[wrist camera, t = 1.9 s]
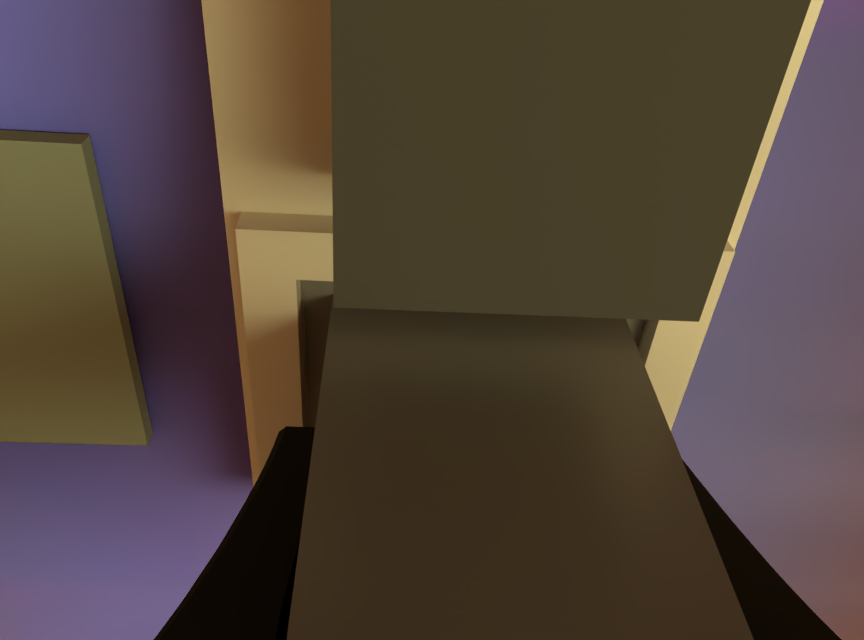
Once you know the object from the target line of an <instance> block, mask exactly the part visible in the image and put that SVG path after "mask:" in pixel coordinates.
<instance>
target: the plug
mask: <svg viewBox="0 0 864 640" xmlns="http://www.w3.org/2000/svg"><path fill="white" fill-rule="evenodd" d="M810 2H811V0H330V6H331V103H332V200H333V297H334V308H359V309H385V310H410V311H436V312H462V313H487V314H513V315H538V316H564V317H590V318H615V319H641V320H667V321H692V322H699V320H700V317H701V315H702V312H703V309H704V306H705V303H706V300H707V297H708V294H709V292H710V289H711V286H712V283H713V280H714V277H715V274H716V272H717V269H718V266H719V263H720V260H721V257H722V254H723V251H724V249H725V246H726V243H727V240H728V237H729V234H730V231H731V229H732V226H733V223H734V220H735V217H736V214H737V211H738V209H739V206H740V203H741V200H742V197H743V194H744V191H745V188H746V186H747V183H748V180H749V177H750V174H751V171H752V168H753V166H754V163H755V160H756V157H757V154H758V151H759V148H760V145H761V143H762V140H763V137H764V134H765V131H766V128H767V125H768V123H769V120H770V117H771V114H772V111H773V108H774V105H775V103H776V100H777V97H778V94H779V91H780V88H781V85H782V82H783V80H784V77H785V74H786V71H787V68H788V65H789V62H790V60H791V57H792V54H793V51H794V48H795V45H796V42H797V39H798V37H799V34H800V31H801V28H802V25H803V22H804V19H805V17H806V14H807V11H808V8H809V5H810Z"/></svg>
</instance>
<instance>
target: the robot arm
mask: <svg viewBox="0 0 864 640" xmlns="http://www.w3.org/2000/svg"><path fill="white" fill-rule="evenodd" d="M314 432H315V427H292V426H286V427H285V428H283V429H282V430H280V431H279V433H278V435H277V438H276V440H275V443H274V446H273V448H272V450H271V452H270V455H269V457H268V459H267V461H266V463H265V465H264V467H263V469H262V471H261V473H260V475H259V477H258V479H257V481H256V483H255V485H254V487H253V489H252V491H251V492H250V494H249V496H248V498H247V500H246V502H245V503H244V505H243V507H242V509H241V510H240V512H239V514H238V515H237V517H236V519H235V520H234V522H233V524H232V525H231V527H230V529H229V531H228V532H227V534H226V536H225V537H224V539H223V541H222V542H221V544H220V546H219V547H218V549H217V550H216V552H215V553H214V555H213V556H212V558H211V559H210V561H209V562H208V564H207V565H206V567H205V568H204V570H203V571H202V573H201V574H200V576H199V577H198V579H197V580H196V582H195V583H194V585H193V586H192V588H191V589H190V591H189V592H188V594H187V595H186V597H185V598H184V599H183V601H182V602H181V604H180V605H179V606H178V608H177V609H176V611H175V612H174V613H173V615H172V616H171V617H170V619H169V620H168V622H167V623H166V624H165V626H164V627H163V628H162V630H161V631H160V632H159V634H158V635H157V636H156V637H155V639H154V640H287V632H288V625H289V617H290V610H291V602H292V595H293V588H294V580H295V573H296V565H297V558H298V551H299V543H300V536H301V528H302V521H303V513H304V506H305V499H306V491H307V484H308V476H309V469H310V461H311V454H312V447H313V439H314ZM682 461H683V460H682ZM683 463H684V466H685V468H686V471H687V473H688V476H689V478H690V481H691V483H692V486H693V488H694V491H695V493H696V496H697V498H698V501H699V503H700V506H701V508H702V511H703V513H704V516H705V518H706V521H707V524H708V526H709V529H710V531H711V534H712V536H713V539H714V541H715V544H716V546H717V549H718V551H719V554H720V556H721V559H722V561H723V564H724V566H725V569H726V571H727V574H728V576H729V579H730V581H731V584H732V586H733V589H734V591H735V594H736V596H737V599H738V601H739V604H740V606H741V609H742V611H743V614H744V616H745V619H746V621H747V624H748V626H749V629H750V631H751V634H752V636H753V639H754V640H841V639H840V638H839V637H838V636H837V635H836V634H835V633H834V632H833V631H832V630H831V629H830V628H829V627H828V626H827V625H826V624H825V623H824V622H823V621H822V620H821V619H820V618H819V617H818V616H817V615H816V614H815V613H814V612H813V611H812V610H811V609H810V608H809V607H808V606H807V605H806V603H805V602H804V601H803V600H802V599H801V598H800V597H799V596H798V595H797V594H796V593H795V592H794V591H793V590H792V589H791V588H790V587H789V585H788V584H787V583H786V582H785V581H784V580H783V579H782V578H781V577H780V576H779V575H778V573H777V572H776V571H775V570H774V569H773V568H772V567H771V566H770V565H769V563H768V562H767V561H766V560H765V559H764V558H763V556H762V555H761V554H760V553H759V552H758V551H757V550H756V548H755V547H754V546H753V545H752V544H751V543H750V541H749V540H748V539H747V538H746V537H745V536H744V534H743V533H742V532H741V531H740V530H739V529H738V528H737V526H736V525H735V524H734V523H733V522H732V520H731V519H730V518H729V517H728V515H727V514H726V513H725V512H724V511H723V509H722V508H721V507H720V506H719V505H718V503H717V502H716V501H715V500H714V498H713V497H712V496H711V495H710V493H709V492H708V491H707V490H706V488H705V487H704V486H703V485H702V483H701V482H700V481H699V480H698V478H697V477H696V476H695V475H694V473H693V472H692V471H691V470H690V468H689V467H688V466H687V465H686V463H685V462H684V461H683Z"/></svg>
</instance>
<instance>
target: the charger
mask: <svg viewBox="0 0 864 640" xmlns="http://www.w3.org/2000/svg"><path fill="white" fill-rule="evenodd" d="M287 640H754V639H753V636H752V634H751V631H750V629H749V626H748V624H747V621H746V619H745V616H744V614H743V611H742V609H741V606H740V604H739V601H738V599H737V596H736V594H735V591H734V589H733V586H732V584H731V581H730V579H729V576H728V574H727V571H726V569H725V566H724V564H723V561H722V559H721V556H720V554H719V551H718V549H717V546H716V544H715V541H714V539H713V536H712V534H711V531H710V529H709V526H708V524H707V521H706V518H705V516H704V513H703V511H702V508H701V506H700V503H699V501H698V498H697V496H696V493H695V491H694V488H693V486H692V483H691V481H690V478H689V476H688V473H687V471H686V468H685V466H684V463H683V461H682V458H681V456H680V453H679V451H678V448H677V446H676V443H675V441H674V438H673V436H672V433H671V431H670V428H669V426H668V423H667V421H666V418H665V416H664V413H663V411H662V408H661V406H660V403H659V401H658V398H657V396H656V393H655V391H654V388H653V386H652V383H651V381H650V378H649V376H648V373H647V371H646V368H645V366H644V363H643V361H642V358H641V356H640V353H639V351H638V348H637V346H636V343H635V341H634V338H633V335H632V333H631V330H630V328H629V325H628V323H627V320H626V319H615V318H590V317H564V316H538V315H513V314H487V313H462V312H436V311H410V310H385V309H359V308H334V297H333V298H332V306H331V313H330V320H329V328H328V335H327V343H326V350H325V358H324V365H323V372H322V380H321V387H320V395H319V402H318V410H317V417H316V424H315V432H314V439H313V447H312V454H311V461H310V469H309V476H308V484H307V491H306V499H305V506H304V513H303V521H302V528H301V536H300V543H299V551H298V558H297V565H296V573H295V580H294V588H293V595H292V602H291V610H290V617H289V625H288V632H287Z"/></svg>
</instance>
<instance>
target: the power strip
mask: <svg viewBox="0 0 864 640" xmlns="http://www.w3.org/2000/svg"><path fill="white" fill-rule="evenodd" d="M823 1H824V0H811V2H810V5H809V8H808V11H807V14H806V17H805V19H804V22H803V25H802V28H801V31H800V34H799V37H798V39H797V42H796V45H795V48H794V51H793V54H792V57H791V60H790V62H789V65H788V68H787V71H786V74H785V77H784V80H783V82H782V85H781V88H780V91H779V94H778V97H777V100H776V103H775V105H774V108H773V111H772V114H771V117H770V120H769V123H768V125H767V128H766V131H765V134H764V137H763V140H762V143H761V145H760V148H759V151H758V154H757V157H756V160H755V163H754V166H753V168H752V171H751V174H750V177H749V180H748V183H747V186H746V188H745V191H744V194H743V197H742V200H741V203H740V206H739V209H738V211H737V214H736V217H735V220H734V223H733V226H732V229H731V231H730V234H729V237H728V240H727V243H726V246H725V249H724V251H723V254H722V257H721V260H720V263H719V266H718V269H717V272H716V274H715V277H714V280H713V283H712V286H711V289H710V292H709V294H708V297H707V300H706V303H705V306H704V309H703V312H702V315H701V317H700V320H699V322H692V321H667V320H641V319H626V320H627V323H628V325H629V328H630V330H631V333H632V335H633V338H634V341H635V343H636V346H637V348H638V351H639V353H640V356H641V358H642V361H643V363H644V366H645V368H646V371H647V373H648V376H649V378H650V381H651V383H652V386H653V388H654V391H655V393H656V396H657V398H658V401H659V403H660V406H661V408H662V411H663V413H664V416H665V418H666V421H667V423H668V426H669V428H670V431H671V429H672V426H673V423H674V420H675V418H676V415H677V412H678V409H679V406H680V404H681V401H682V398H683V395H684V393H685V390H686V387H687V384H688V381H689V379H690V376H691V373H692V370H693V368H694V365H695V362H696V359H697V356H698V354H699V351H700V348H701V345H702V343H703V340H704V337H705V334H706V331H707V329H708V326H709V323H710V320H711V318H712V315H713V312H714V309H715V306H716V304H717V301H718V298H719V295H720V293H721V290H722V287H723V284H724V281H725V279H726V276H727V273H728V270H729V268H730V265H731V262H732V259H733V256H734V254H735V251H734V249H735V246H736V244H737V241H738V238H739V235H740V233H741V230H742V227H743V224H744V221H745V219H746V216H747V213H748V210H749V207H750V205H751V202H752V199H753V196H754V193H755V191H756V188H757V185H758V182H759V179H760V177H761V174H762V171H763V168H764V166H765V163H766V160H767V157H768V154H769V152H770V149H771V146H772V143H773V140H774V138H775V135H776V132H777V129H778V126H779V124H780V121H781V118H782V115H783V113H784V110H785V107H786V104H787V101H788V99H789V96H790V93H791V90H792V87H793V85H794V82H795V79H796V76H797V73H798V71H799V68H800V65H801V62H802V60H803V57H804V54H805V51H806V48H807V46H808V43H809V40H810V37H811V34H812V32H813V29H814V26H815V23H816V20H817V18H818V15H819V12H820V9H821V7H822V4H823ZM201 2H202V11H203V21H204V30H205V39H206V49H207V58H208V67H209V77H210V86H211V96H212V105H213V114H214V124H215V133H216V142H217V152H218V161H219V170H220V180H221V189H222V199H223V208H224V217H225V227H226V236H227V245H228V255H229V264H230V273H231V283H232V292H233V302H234V311H235V320H236V330H237V339H238V348H239V358H240V367H241V376H242V386H243V395H244V405H245V414H246V423H247V433H248V442H249V451H250V461H251V470H252V479H253V487H254V485H255V483H256V481H257V479H258V477H259V475H260V473H261V471H262V469H263V467H264V465H265V463H266V461H267V459H268V457H269V455H270V452H271V450H272V448H273V446H274V443H275V440H276V438H277V435H278V433H279V431H280V430H282V429H283V428H285V427H286V426H292V427H315V424H316V417H317V410H318V402H319V395H320V387H321V380H322V372H323V365H324V358H325V350H326V343H327V335H328V328H329V320H330V313H331V306H332V298H333V200H332V103H331V6H330V0H201Z"/></svg>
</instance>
